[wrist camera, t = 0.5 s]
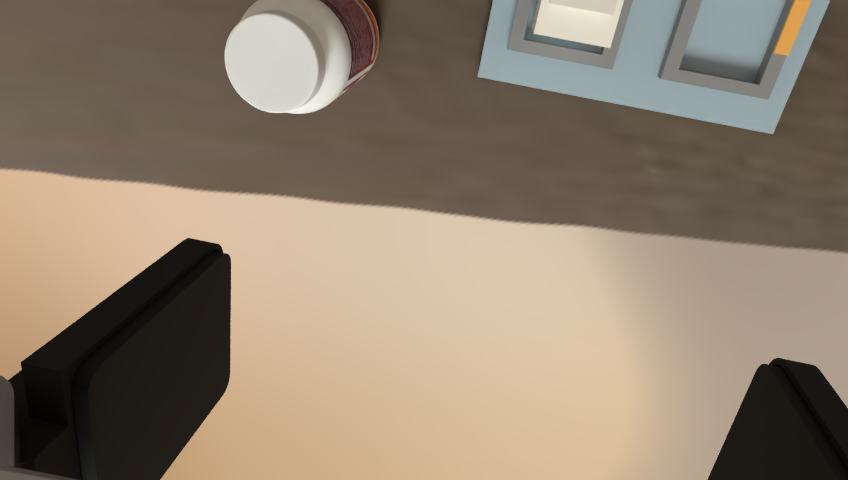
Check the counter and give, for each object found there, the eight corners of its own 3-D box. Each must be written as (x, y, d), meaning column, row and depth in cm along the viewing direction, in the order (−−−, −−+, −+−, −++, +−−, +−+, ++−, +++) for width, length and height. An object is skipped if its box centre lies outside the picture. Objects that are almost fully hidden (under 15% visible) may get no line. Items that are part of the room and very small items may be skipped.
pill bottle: (309, -36, 37) (234, -35, 27) (398, 16, 38) (356, 36, 28) (272, 56, 40) (191, 88, 30) (355, 103, 40) (304, 150, 30)
